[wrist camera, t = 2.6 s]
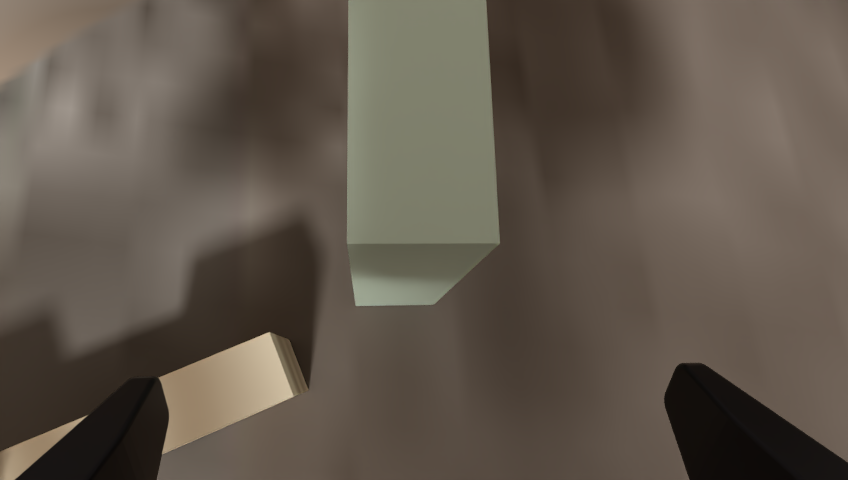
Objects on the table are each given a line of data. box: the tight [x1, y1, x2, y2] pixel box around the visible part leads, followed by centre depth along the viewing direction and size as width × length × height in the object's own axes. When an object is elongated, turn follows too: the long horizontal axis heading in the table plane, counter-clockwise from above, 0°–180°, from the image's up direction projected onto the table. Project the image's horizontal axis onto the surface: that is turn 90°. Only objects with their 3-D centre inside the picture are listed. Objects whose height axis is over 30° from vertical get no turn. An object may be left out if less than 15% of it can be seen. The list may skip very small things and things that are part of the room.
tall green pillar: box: [347, 0, 500, 306], centre depth 17 cm, size 7×3×11 cm, turn 2°
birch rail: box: [0, 332, 308, 480], centre depth 17 cm, size 14×2×4 cm, turn 113°
